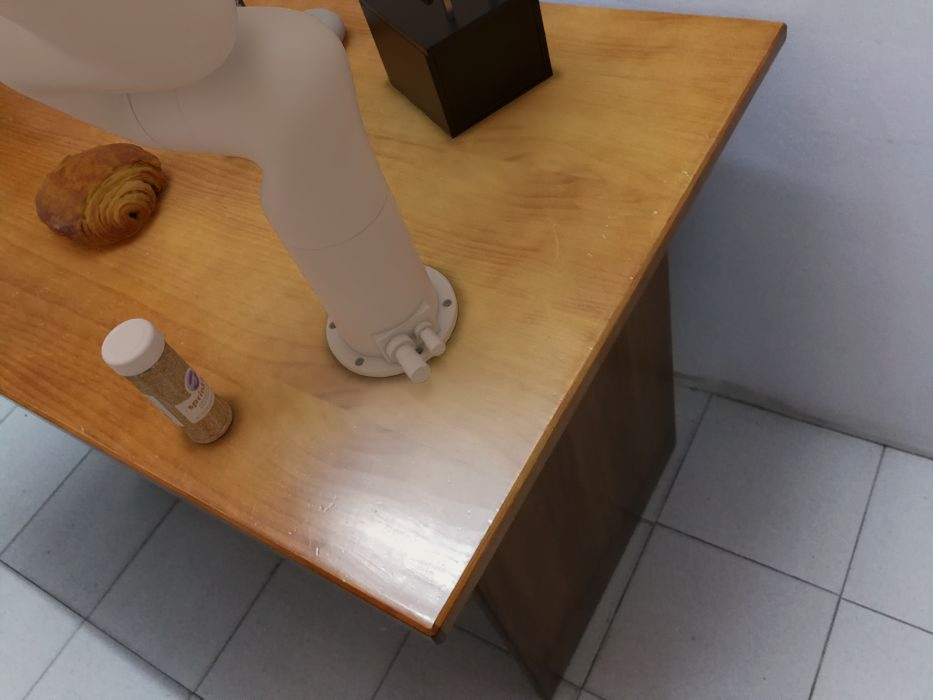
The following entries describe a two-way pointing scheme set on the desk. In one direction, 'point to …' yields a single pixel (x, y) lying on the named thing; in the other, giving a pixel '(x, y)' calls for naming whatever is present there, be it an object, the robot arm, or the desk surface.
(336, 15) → the donut
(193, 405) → the sprinkles bottle
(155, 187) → the croissant
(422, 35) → the lid
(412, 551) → the desk surface
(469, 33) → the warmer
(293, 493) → the desk surface
